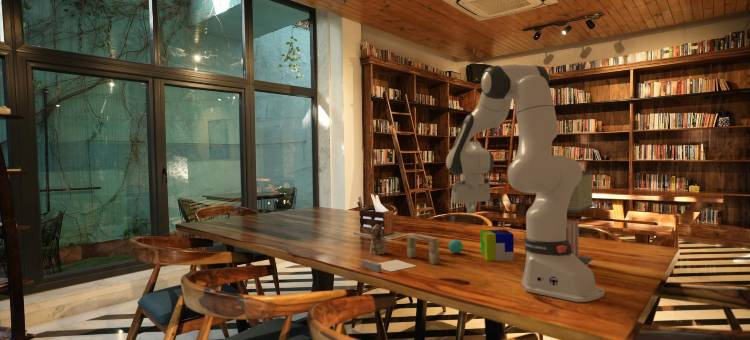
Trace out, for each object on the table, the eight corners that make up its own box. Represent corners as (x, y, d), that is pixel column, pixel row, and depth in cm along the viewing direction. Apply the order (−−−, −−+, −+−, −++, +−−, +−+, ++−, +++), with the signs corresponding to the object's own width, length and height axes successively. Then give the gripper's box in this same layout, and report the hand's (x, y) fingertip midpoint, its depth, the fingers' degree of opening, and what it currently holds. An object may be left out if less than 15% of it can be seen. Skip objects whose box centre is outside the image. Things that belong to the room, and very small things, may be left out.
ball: (465, 253, 170) (465, 239, 170) (456, 255, 167) (455, 241, 167) (455, 251, 175) (455, 237, 175) (446, 253, 172) (445, 239, 172)
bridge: (412, 255, 168) (412, 232, 168) (438, 263, 155) (438, 238, 155) (407, 257, 166) (406, 233, 166) (432, 264, 154) (432, 239, 154)
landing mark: (416, 266, 151) (416, 265, 151) (390, 271, 144) (390, 271, 144) (396, 260, 161) (396, 259, 161) (370, 265, 154) (370, 264, 154)
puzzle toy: (513, 260, 158) (513, 234, 157) (487, 260, 158) (486, 234, 158) (506, 254, 168) (505, 229, 167) (480, 254, 168) (480, 230, 168)
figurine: (366, 252, 176) (366, 223, 176) (382, 250, 179) (381, 222, 179) (374, 255, 170) (373, 226, 170) (389, 253, 173) (389, 224, 173)
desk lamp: (579, 275, 135) (579, 174, 135) (535, 269, 144) (534, 174, 144) (593, 264, 149) (593, 172, 149) (552, 258, 158) (551, 172, 158)
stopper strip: (381, 271, 145) (381, 264, 145) (377, 272, 144) (377, 265, 144) (365, 266, 153) (365, 259, 153) (362, 266, 152) (361, 259, 152)
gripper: (459, 181, 167) (459, 216, 168) (492, 179, 179) (492, 211, 179) (447, 180, 172) (447, 214, 173) (481, 178, 184) (481, 210, 185)
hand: (470, 212), depth 176 cm, fingers closed
